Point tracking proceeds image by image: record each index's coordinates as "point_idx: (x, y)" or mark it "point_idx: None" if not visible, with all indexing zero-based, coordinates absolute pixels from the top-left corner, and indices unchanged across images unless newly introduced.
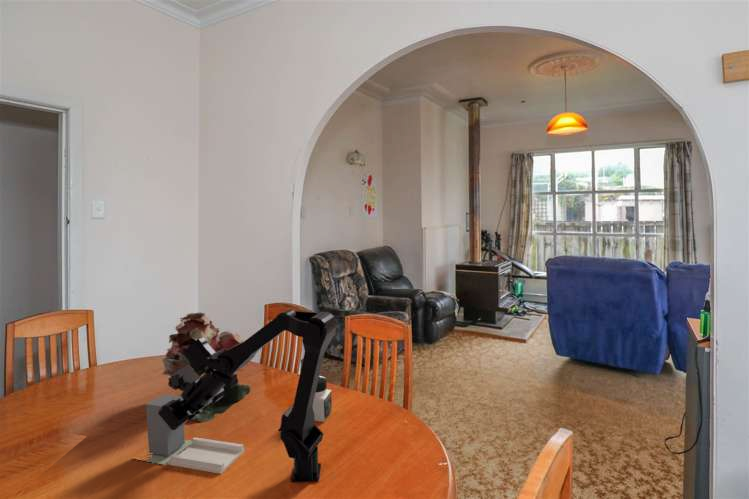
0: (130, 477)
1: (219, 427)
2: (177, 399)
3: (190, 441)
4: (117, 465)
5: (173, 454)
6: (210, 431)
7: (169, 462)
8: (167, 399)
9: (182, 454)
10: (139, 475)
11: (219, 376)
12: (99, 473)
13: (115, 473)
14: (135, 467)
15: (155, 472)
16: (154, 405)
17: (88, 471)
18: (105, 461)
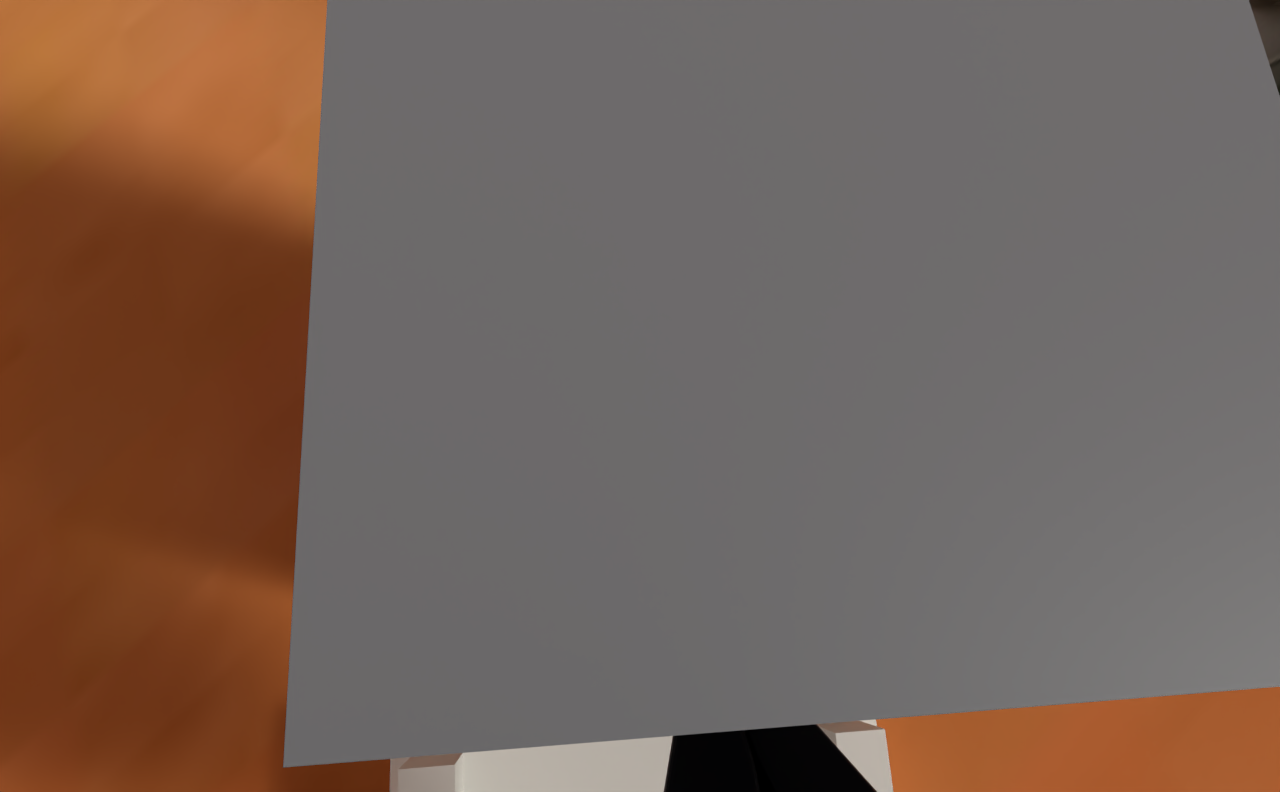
0: (87, 508)
1: (1246, 723)
2: (1169, 687)
3: None
4: (265, 205)
5: (448, 787)
6: None
7: (392, 765)
8: (960, 234)
9: (585, 789)
10: (138, 576)
11: None
12: (107, 149)
13: (132, 296)
14: (269, 408)
15: (224, 716)
16: (331, 110)
17: (122, 32)
18: (302, 50)
